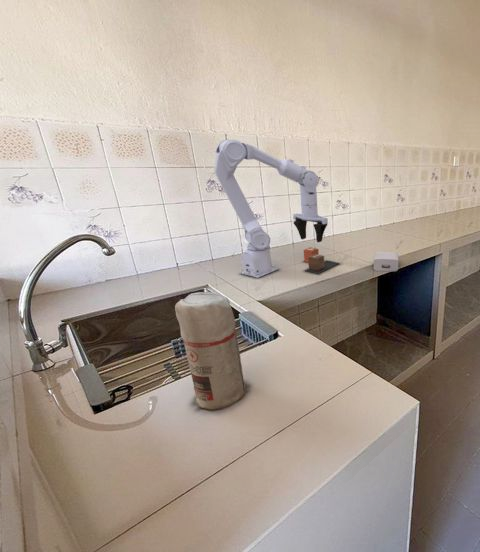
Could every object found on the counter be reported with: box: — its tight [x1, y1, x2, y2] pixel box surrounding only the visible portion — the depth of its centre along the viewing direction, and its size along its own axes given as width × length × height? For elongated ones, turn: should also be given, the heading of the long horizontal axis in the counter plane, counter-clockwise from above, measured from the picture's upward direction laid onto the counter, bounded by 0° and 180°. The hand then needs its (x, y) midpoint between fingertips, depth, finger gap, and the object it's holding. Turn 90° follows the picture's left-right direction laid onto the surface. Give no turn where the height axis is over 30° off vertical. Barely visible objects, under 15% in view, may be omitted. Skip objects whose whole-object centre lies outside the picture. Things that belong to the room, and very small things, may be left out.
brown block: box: [308, 254, 325, 272], centre depth 122 cm, size 4×4×5 cm
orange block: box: [303, 246, 320, 264], centre depth 131 cm, size 5×4×5 cm
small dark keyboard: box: [304, 260, 340, 275], centre depth 126 cm, size 13×6×1 cm, turn 155°
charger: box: [373, 251, 399, 272], centre depth 131 cm, size 5×9×15 cm
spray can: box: [174, 291, 247, 410], centre depth 58 cm, size 8×8×20 cm
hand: (311, 240), depth 127 cm, fingers open, 7 cm apart
